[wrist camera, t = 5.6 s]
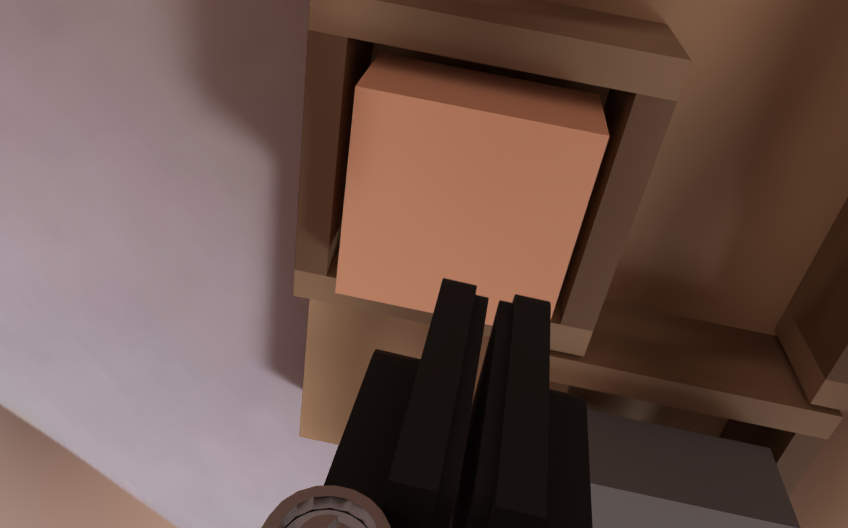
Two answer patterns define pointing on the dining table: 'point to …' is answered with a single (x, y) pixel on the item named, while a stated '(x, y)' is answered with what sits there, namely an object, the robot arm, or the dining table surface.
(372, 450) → the robot arm
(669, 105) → the wooden shape sorter board
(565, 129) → the terracotta key
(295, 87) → the dining table surface
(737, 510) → the charcoal key
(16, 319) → the dining table surface
